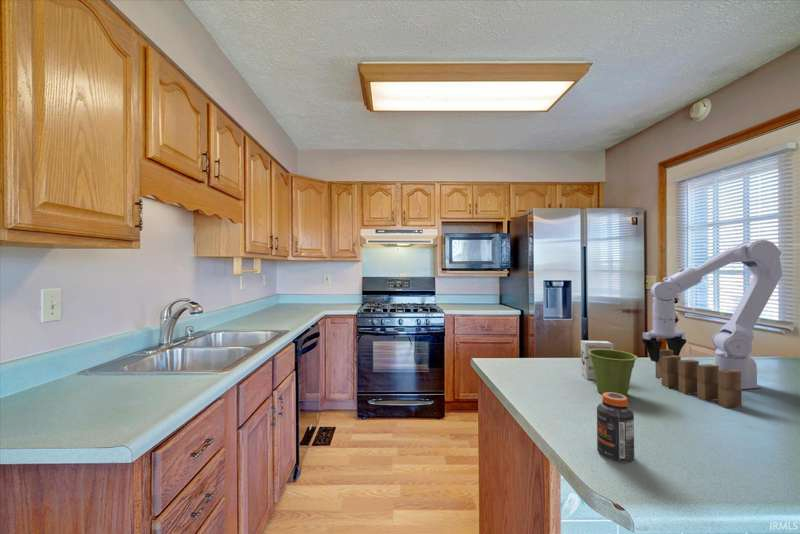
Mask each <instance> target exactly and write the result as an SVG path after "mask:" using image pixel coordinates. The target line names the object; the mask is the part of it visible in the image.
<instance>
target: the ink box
mask: <svg viewBox="0 0 800 534" xmlns="http://www.w3.org/2000/svg"><path fill="white" fill-rule="evenodd" d="M614 345H615V344H614V343H612V342H610V341H608V340H582V339H580V372H581V376H582V377H584V378H585V379H586V380H596V379H595V374H594V368H593V362H592V361H591V356H590V354H589V353H588V351H589V350H593V349H608V350H615V346H614Z"/></svg>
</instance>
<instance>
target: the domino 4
mask: <svg viewBox="0 0 800 534" xmlns="http://www.w3.org/2000/svg"><path fill="white" fill-rule="evenodd" d="M718 370H719V366H717V365H715V364H713V363H711V364H710V363H709V364H699V365H697V393H696V394H697V399H698V398H699V399H698V400H701V399H702V400H701V401H704V400H708V401H715V399H717V400H718Z"/></svg>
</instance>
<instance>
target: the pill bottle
mask: <svg viewBox="0 0 800 534" xmlns="http://www.w3.org/2000/svg"><path fill="white" fill-rule="evenodd" d="M601 398H602V402H601V403H598V405H597V407H596V450H597V452H598V453H599V454H600V456H602V457H603V458H605V459H606V460H609V461H611V462H615V463H620V464H630V463H632V462H634V460H635V414H634V412H633V410H632V409H631V408H629V407H628V404H629V403H628V397H627V396H624V395H622V394H618V393H613V392H606V393H603V394H602V397H601Z"/></svg>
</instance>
